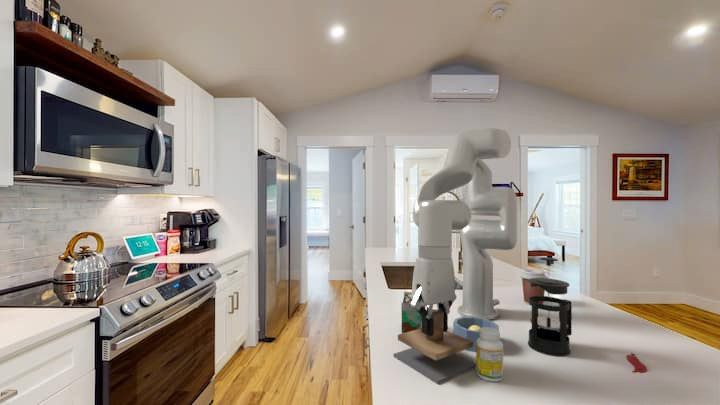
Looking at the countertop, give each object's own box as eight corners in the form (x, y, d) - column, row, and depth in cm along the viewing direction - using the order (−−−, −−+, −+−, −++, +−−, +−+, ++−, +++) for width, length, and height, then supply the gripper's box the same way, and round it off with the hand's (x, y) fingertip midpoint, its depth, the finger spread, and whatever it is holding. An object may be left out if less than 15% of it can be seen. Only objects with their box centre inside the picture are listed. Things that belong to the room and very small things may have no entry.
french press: (546, 358, 75) (546, 261, 75) (517, 342, 84) (517, 255, 84) (585, 353, 78) (585, 260, 78) (553, 337, 87) (553, 254, 87)
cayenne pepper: (643, 378, 67) (643, 369, 67) (616, 369, 71) (616, 361, 71) (654, 361, 75) (654, 353, 75) (629, 354, 78) (629, 346, 78)
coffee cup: (553, 307, 113) (553, 273, 114) (527, 307, 113) (527, 273, 114) (539, 299, 122) (539, 268, 123) (515, 299, 123) (515, 268, 123)
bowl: (471, 331, 91) (471, 314, 91) (507, 345, 82) (507, 326, 82) (445, 340, 85) (445, 321, 85) (480, 356, 76) (480, 335, 76)
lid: (433, 329, 81) (433, 301, 82) (473, 346, 71) (473, 314, 72) (397, 339, 75) (398, 309, 75) (435, 360, 65) (436, 325, 65)
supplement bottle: (498, 385, 63) (498, 337, 64) (472, 376, 67) (472, 330, 67) (506, 374, 68) (506, 329, 68) (481, 366, 71) (481, 323, 71)
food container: (424, 342, 83) (424, 304, 83) (401, 340, 84) (401, 303, 85) (424, 325, 95) (424, 292, 95) (404, 323, 97) (404, 291, 97)
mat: (431, 343, 83) (431, 341, 83) (478, 366, 71) (478, 363, 71) (393, 356, 75) (393, 353, 75) (437, 384, 64) (437, 381, 64)
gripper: (446, 249, 81) (446, 320, 81) (396, 253, 72) (396, 334, 72) (471, 252, 75) (471, 330, 75) (420, 258, 66) (419, 346, 65)
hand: (434, 331), depth 73 cm, fingers closed on lid, 4 cm apart
